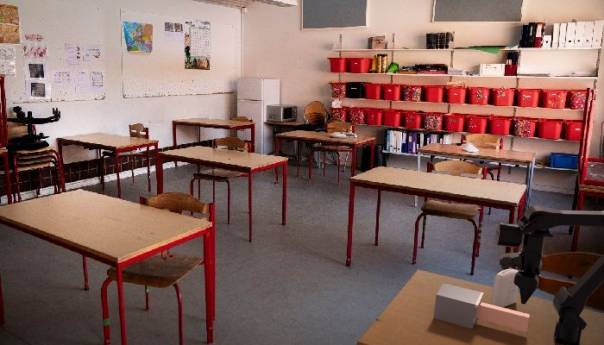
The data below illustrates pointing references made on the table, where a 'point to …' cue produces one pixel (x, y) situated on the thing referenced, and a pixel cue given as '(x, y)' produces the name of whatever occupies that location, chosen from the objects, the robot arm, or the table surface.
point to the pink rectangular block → (502, 316)
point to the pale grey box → (457, 305)
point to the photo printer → (504, 288)
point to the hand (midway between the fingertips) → (524, 297)
